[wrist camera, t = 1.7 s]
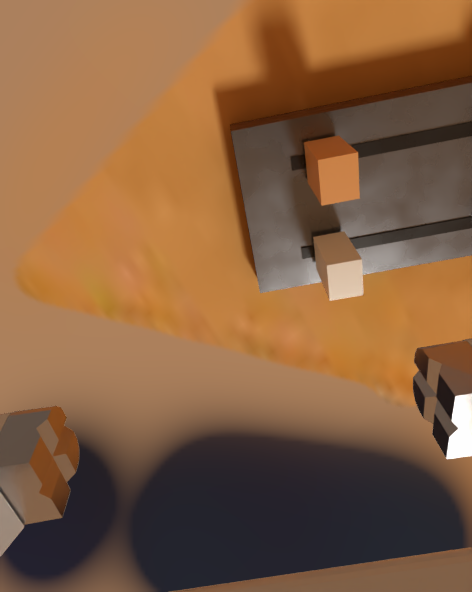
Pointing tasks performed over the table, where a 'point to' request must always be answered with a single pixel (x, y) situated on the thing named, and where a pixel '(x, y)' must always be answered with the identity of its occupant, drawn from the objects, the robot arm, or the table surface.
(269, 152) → the console
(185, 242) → the table surface
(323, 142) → the fader orange
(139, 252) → the table surface
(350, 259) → the fader ivory
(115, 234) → the table surface
